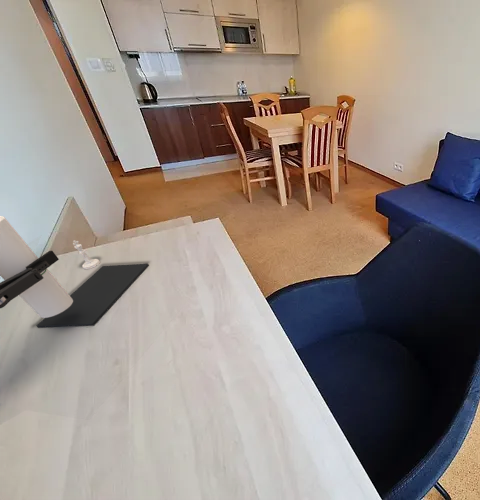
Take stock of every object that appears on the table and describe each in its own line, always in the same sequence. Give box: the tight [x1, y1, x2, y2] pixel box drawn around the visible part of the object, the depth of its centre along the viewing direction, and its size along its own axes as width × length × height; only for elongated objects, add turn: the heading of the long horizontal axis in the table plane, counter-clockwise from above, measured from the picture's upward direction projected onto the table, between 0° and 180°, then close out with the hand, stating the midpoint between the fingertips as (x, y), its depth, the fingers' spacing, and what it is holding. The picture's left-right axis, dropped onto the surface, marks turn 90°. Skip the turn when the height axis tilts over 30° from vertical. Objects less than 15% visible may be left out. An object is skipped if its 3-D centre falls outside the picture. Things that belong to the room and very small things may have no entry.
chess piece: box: [72, 240, 101, 270], centre depth 102 cm, size 5×5×10 cm
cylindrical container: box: [0, 215, 73, 319], centre depth 71 cm, size 7×7×25 cm
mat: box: [35, 263, 150, 329], centre depth 91 cm, size 16×26×1 cm, turn 179°
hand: (39, 255), depth 75 cm, fingers closed on cylindrical container, 7 cm apart
